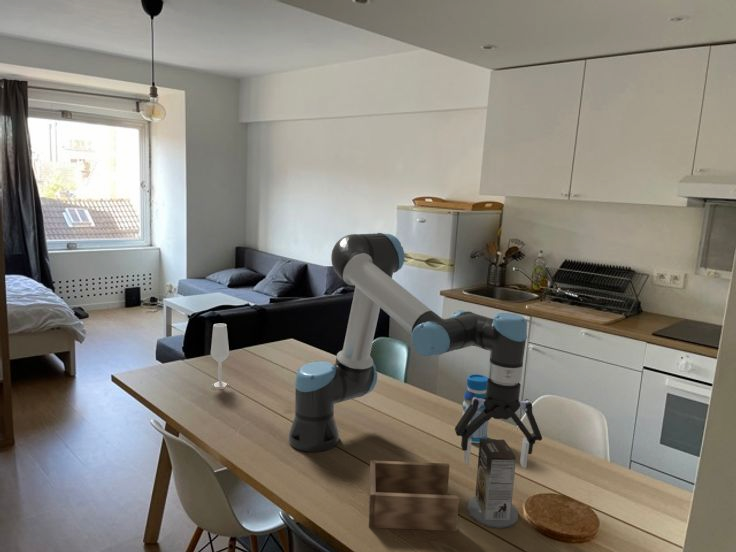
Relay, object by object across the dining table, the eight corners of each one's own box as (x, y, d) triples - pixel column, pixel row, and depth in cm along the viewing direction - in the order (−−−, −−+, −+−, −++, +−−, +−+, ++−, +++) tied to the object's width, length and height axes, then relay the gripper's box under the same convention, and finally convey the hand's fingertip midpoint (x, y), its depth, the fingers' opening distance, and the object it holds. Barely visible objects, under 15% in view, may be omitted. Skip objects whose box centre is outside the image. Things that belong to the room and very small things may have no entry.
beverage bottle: (481, 447, 160) (486, 384, 157) (456, 439, 164) (460, 378, 161) (491, 436, 167) (496, 376, 164) (466, 429, 171) (470, 371, 168)
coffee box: (473, 498, 131) (478, 437, 129) (499, 498, 132) (504, 438, 129) (484, 520, 122) (489, 456, 120) (511, 520, 123) (517, 456, 120)
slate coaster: (472, 526, 121) (472, 523, 121) (463, 497, 133) (463, 494, 133) (524, 529, 121) (524, 526, 121) (510, 499, 133) (510, 496, 133)
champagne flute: (223, 381, 204) (223, 321, 200) (232, 386, 199) (232, 325, 195) (207, 385, 199) (207, 324, 195) (216, 390, 194) (216, 328, 190)
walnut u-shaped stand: (368, 527, 119) (370, 495, 118) (369, 489, 135) (370, 460, 133) (456, 530, 119) (458, 498, 118) (446, 492, 135) (448, 463, 133)
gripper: (453, 383, 118) (444, 469, 122) (563, 389, 118) (551, 475, 122) (448, 371, 125) (440, 452, 129) (552, 377, 125) (541, 458, 129)
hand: (494, 463), depth 125 cm, fingers open, 13 cm apart
